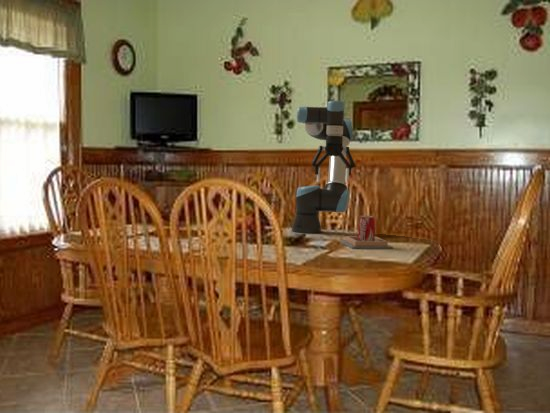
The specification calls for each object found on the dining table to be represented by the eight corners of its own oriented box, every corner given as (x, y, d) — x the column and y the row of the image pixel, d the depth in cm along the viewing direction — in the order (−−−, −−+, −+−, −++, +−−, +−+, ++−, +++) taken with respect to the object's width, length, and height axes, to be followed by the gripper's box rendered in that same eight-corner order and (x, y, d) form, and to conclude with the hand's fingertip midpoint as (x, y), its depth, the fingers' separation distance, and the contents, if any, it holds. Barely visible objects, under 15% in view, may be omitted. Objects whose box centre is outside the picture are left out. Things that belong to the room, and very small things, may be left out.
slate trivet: (340, 242, 262) (340, 235, 261) (377, 242, 265) (378, 236, 265) (352, 248, 244) (352, 241, 244) (392, 249, 247) (393, 242, 247)
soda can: (375, 244, 251) (376, 217, 250) (358, 244, 251) (360, 216, 250) (373, 242, 258) (374, 215, 257) (357, 241, 258) (358, 215, 257)
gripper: (309, 134, 257) (307, 182, 259) (363, 136, 261) (361, 183, 263) (305, 134, 264) (304, 181, 266) (358, 136, 269) (356, 182, 271)
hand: (332, 182), depth 265 cm, fingers open, 13 cm apart
